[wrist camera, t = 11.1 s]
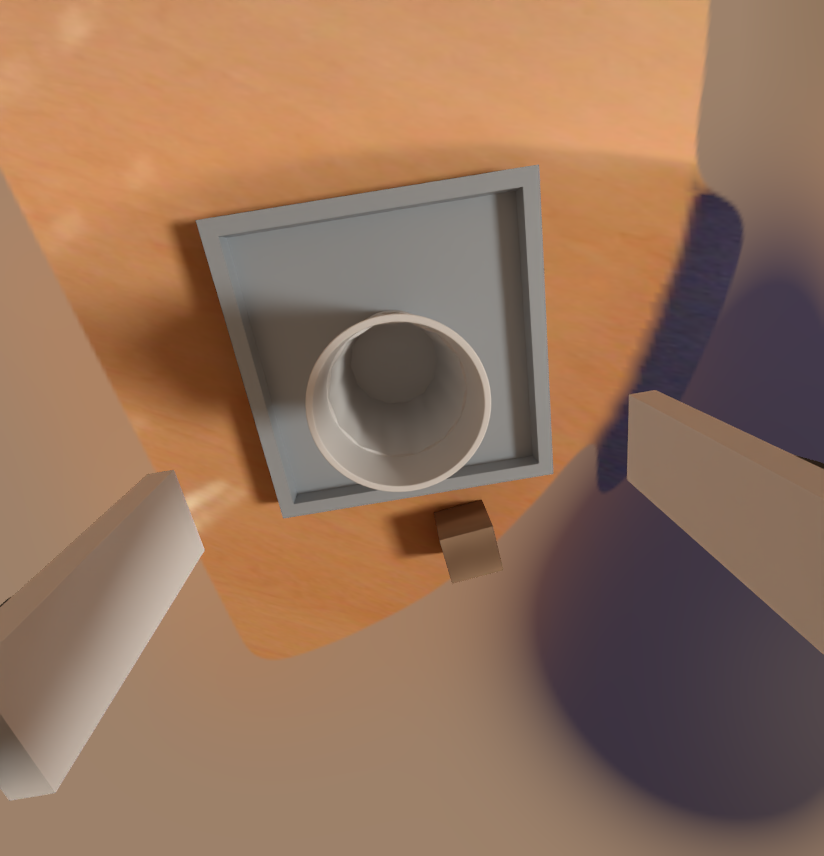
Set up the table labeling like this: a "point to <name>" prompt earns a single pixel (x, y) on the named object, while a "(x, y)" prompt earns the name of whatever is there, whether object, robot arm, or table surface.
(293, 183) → the table surface
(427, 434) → the cup
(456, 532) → the walnut block
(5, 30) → the table surface
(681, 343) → the table surface
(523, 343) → the tray
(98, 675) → the robot arm
